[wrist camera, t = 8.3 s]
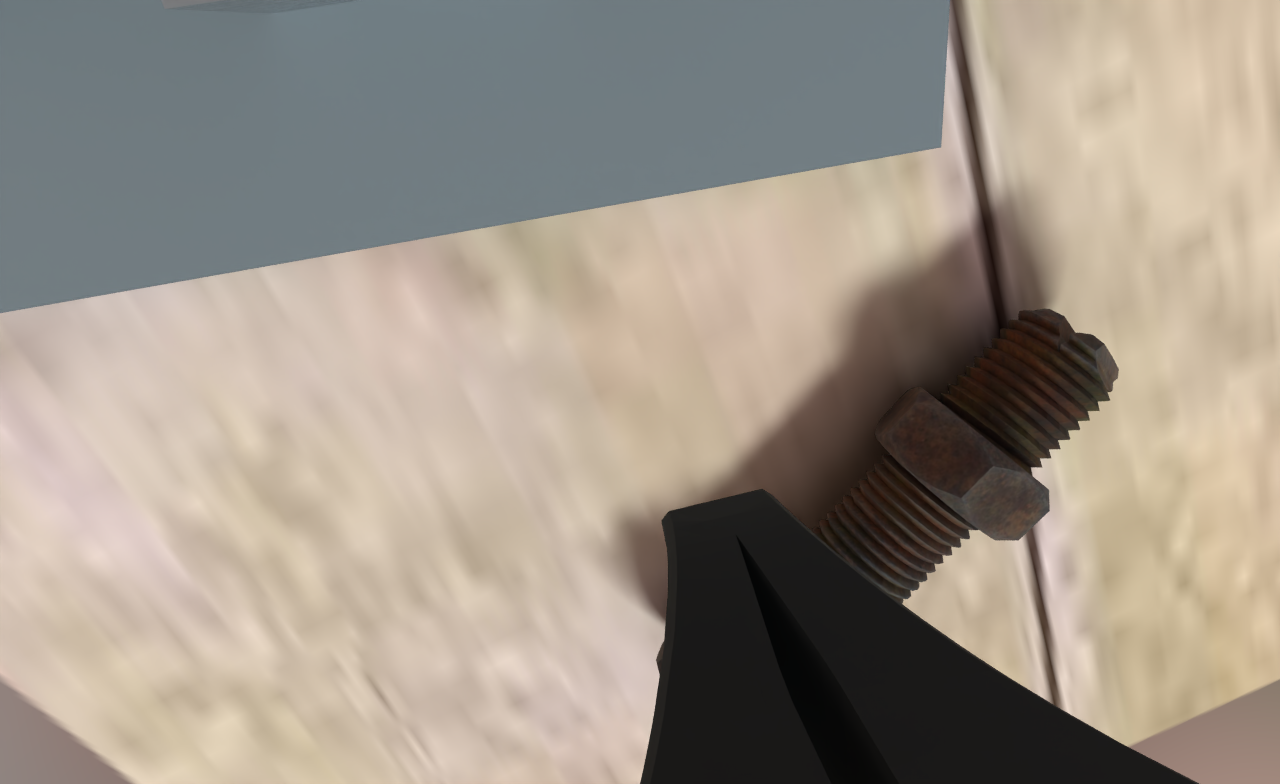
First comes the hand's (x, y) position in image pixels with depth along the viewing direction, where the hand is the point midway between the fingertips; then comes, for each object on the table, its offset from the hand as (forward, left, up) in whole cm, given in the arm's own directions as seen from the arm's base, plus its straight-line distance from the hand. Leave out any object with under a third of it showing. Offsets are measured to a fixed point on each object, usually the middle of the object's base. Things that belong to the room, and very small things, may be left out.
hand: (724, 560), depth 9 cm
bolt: (-6, +8, -11) cm, 15 cm away
